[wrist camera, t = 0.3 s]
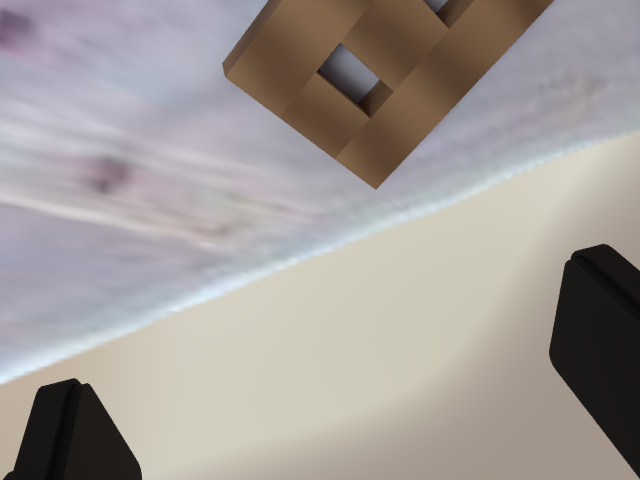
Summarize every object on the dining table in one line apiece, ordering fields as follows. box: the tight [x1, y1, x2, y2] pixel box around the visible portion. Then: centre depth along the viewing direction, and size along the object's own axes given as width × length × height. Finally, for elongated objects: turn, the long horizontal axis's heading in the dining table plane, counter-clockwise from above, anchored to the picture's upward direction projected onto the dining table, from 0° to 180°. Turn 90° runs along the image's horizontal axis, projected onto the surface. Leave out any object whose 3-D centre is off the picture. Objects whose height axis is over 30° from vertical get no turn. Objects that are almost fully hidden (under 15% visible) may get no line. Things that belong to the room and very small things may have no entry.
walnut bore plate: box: [222, 0, 554, 190], centre depth 34 cm, size 20×14×3 cm
